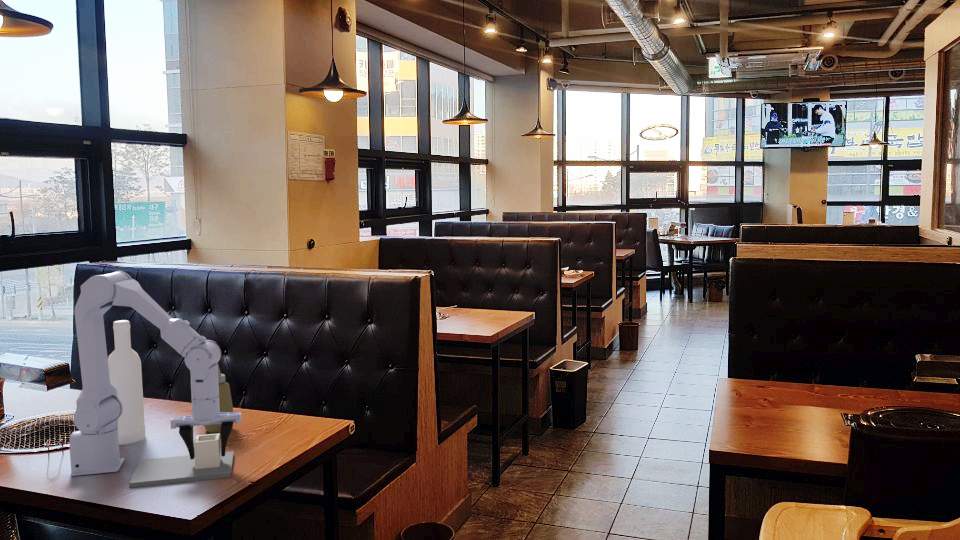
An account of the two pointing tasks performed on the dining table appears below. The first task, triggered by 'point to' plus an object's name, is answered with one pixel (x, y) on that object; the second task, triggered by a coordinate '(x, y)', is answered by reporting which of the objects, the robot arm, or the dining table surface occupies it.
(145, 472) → the base plate
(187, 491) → the dining table surface
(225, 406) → the squeeze bottle
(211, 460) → the sleeve
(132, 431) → the bottle
